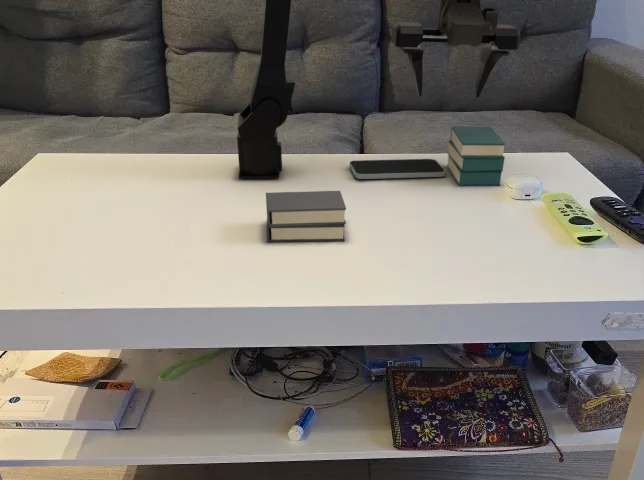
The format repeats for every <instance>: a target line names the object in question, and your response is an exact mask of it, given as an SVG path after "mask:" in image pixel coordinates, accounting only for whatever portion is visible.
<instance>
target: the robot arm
mask: <svg viewBox="0 0 644 480" xmlns="http://www.w3.org/2000/svg"><path fill="white" fill-rule="evenodd" d="M291 4H292V0H265V1H264V11H263V22H262V23H263V24H262V36H261V51H260V58H259V62H258V66H257V69H256V72H255V76H254V80H253V84H252V87H251V88H252V89H251V91H250V97H249V103H248V104H247V105H246V106H245V107H244V108H243V109H242V111H240V113H239V114H238V115H237V136H236V141H237V157H238V174H237V178H238V179H240V180H253V179H254V180H257V179H258V180H259V179H263V180H264V179H265V180H267V179H268V180H269V179H271V180H272V179H274V180H275V179H279V178H280V173H281V172H282V171H283V156H282V155H283V154H282V153H283V152H282V151H283V150H282V142H281V141H278V131H277V129H278V128H280V127H281V126H282V125H283V124H285V122H286V121H287V118H288V114H289V112H291V113H292V112H293V111H294V110H293V106H292V98H293V94H294V91H295V86H296V82H295V79H294V76H293V75H291V74H290V75H286V57H287V48H288V37H289V36H288V35H289V26H290V15H291V7H292V5H291ZM499 15H500V11H499V8H498V7H496V6H495V7H494V6H493V7H491V6H485V7H484V8H483V9H482V8H481V0H439V4H438V13H437V21H436V28H429V27H426V28H424V26H423V25H422V24H421V23H420V22H415V21H413V22H411V21H410V22H409V21H396V22H395V23H394V24H393V26H392V29H391V30H392V31H391V43H392V44H393V45H394V47H398V48H399V50H401V52H402V53H403V54H407V56H408V60H409V63H410V67H411V69H412V74H413V78H414V84H415V87H416V92H417V96H418V97H422V94H423V85H424V84H423V81H424V80H423V61H424V59H423V58H424V51H425V50H424V49H423V48H422V47H421V45H422V43H447V44H448V45H450V46H453V47H459V46H471V47H478V46H481V44H486V45H482V46H481V51H480V57H479V63H478V70H477V75H476V81H475V90H474V97H475V98H479V97H480V96H481V93H482V91H483V90H484V87H485V85H486V84H487V81H488V79H489V77H490V74H491V73H492V71H493V69H494V67H495V66H496V64H497V63H498V62H499V61H500V60H501V59H502V57H507V56H509V55H510V51H517V50H520V43H521V31H520V30H519V29H518V28H517V27H515V26H513V25H511V24H498V23H499Z"/></svg>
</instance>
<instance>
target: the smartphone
mask: <svg viewBox="0 0 644 480" xmlns="http://www.w3.org/2000/svg"><path fill="white" fill-rule="evenodd" d="M348 167H349V169H350V171H351V172H352V175H353V176H354V178H356V179H359V180H370V179H371V180H372V179H373V180H374V179H376V180H377V179H407V178H408V179H409V178H410V179H411V178H441V177H442V178H443V177H445V176H446V169H445V168H444V167H443V165H441V164H440V163H439V162H438V161H437V160H436V159H433V158H409V159H408V158H407V159H406V158H403V159H402V158H401V159H366V160H365V159H364V160H363V159H362V160H361V159H359V160H350V161H349V166H348Z"/></svg>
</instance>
